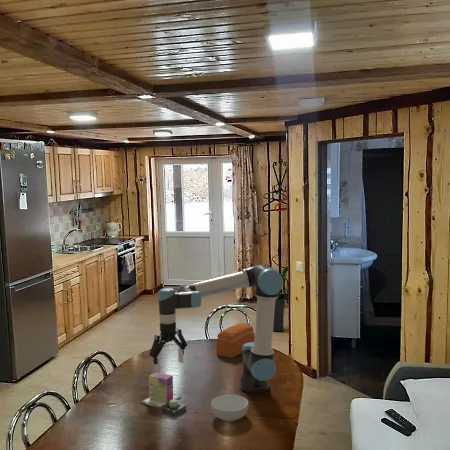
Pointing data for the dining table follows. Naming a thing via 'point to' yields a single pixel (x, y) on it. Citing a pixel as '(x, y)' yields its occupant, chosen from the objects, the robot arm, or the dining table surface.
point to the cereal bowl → (229, 407)
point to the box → (161, 387)
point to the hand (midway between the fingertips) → (169, 366)
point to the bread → (234, 339)
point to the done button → (173, 403)
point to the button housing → (174, 413)
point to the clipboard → (158, 402)
